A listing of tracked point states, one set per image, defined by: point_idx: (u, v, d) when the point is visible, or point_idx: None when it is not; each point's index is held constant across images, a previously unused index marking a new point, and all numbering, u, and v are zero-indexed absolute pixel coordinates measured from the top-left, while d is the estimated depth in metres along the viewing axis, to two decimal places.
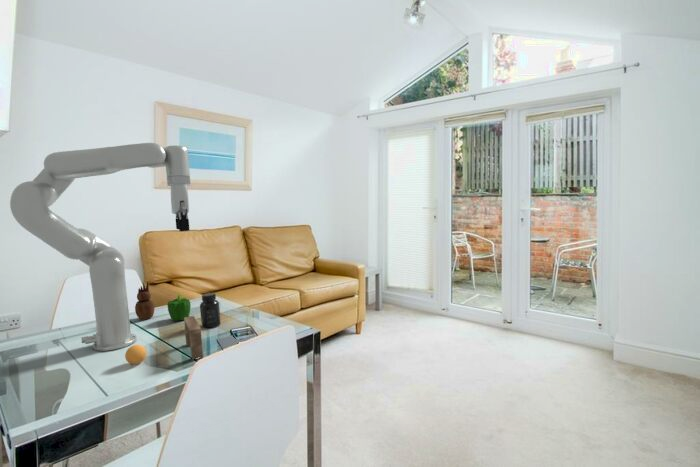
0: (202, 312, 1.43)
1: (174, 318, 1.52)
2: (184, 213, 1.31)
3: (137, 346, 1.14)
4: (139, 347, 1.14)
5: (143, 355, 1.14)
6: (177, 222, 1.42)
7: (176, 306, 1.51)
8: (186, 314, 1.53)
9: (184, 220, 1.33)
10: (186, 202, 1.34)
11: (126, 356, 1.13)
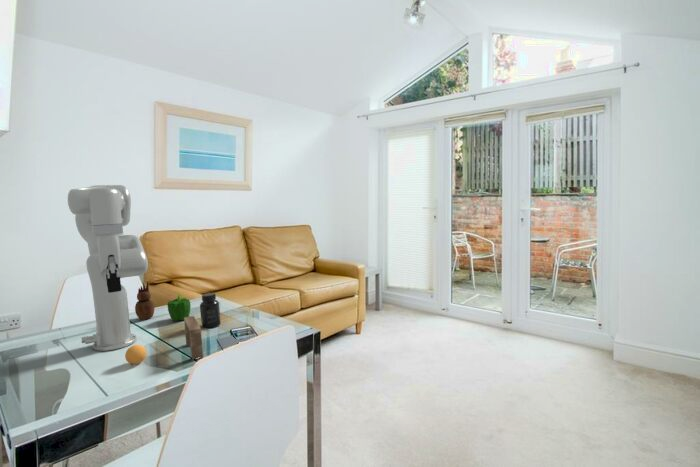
0: (202, 312, 1.43)
1: (174, 318, 1.52)
2: (113, 271, 1.07)
3: (137, 346, 1.14)
4: (139, 347, 1.14)
5: (143, 355, 1.14)
6: None
7: (176, 306, 1.51)
8: (186, 314, 1.53)
9: (114, 279, 1.09)
10: (116, 256, 1.10)
11: (126, 356, 1.13)
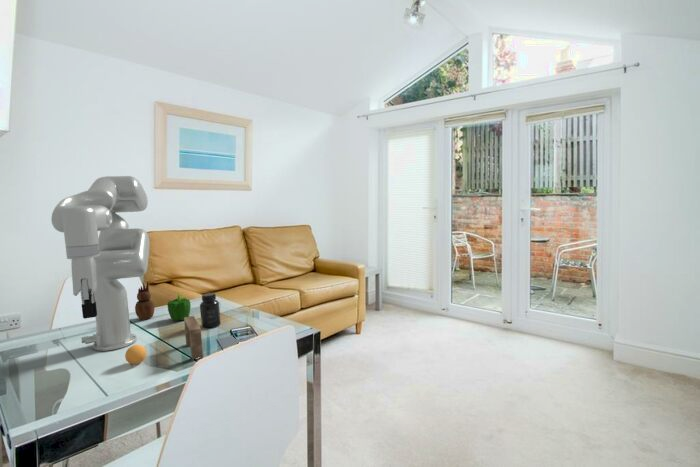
0: (202, 312, 1.43)
1: (174, 318, 1.52)
2: (87, 299, 1.05)
3: (137, 346, 1.14)
4: (139, 347, 1.14)
5: (143, 355, 1.14)
6: None
7: (176, 306, 1.51)
8: (186, 314, 1.53)
9: (89, 305, 1.07)
10: (90, 280, 1.03)
11: (126, 356, 1.13)
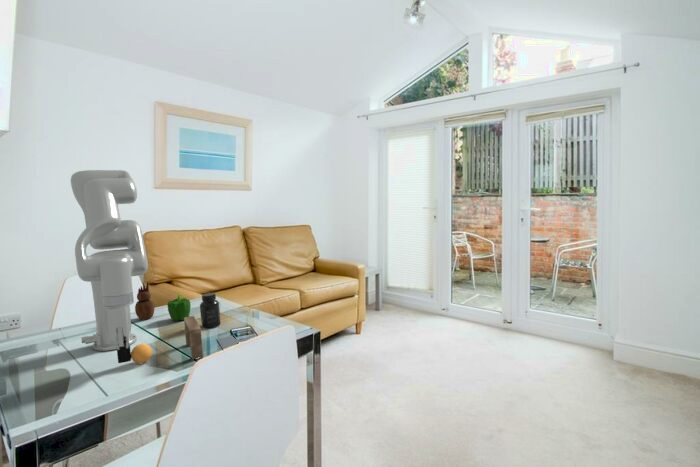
0: (202, 312, 1.43)
1: (174, 318, 1.52)
2: None
3: (146, 346, 1.15)
4: (147, 347, 1.15)
5: (148, 356, 1.15)
6: None
7: (176, 306, 1.51)
8: (186, 314, 1.53)
9: (123, 350, 1.12)
10: (125, 328, 1.08)
11: (132, 353, 1.13)
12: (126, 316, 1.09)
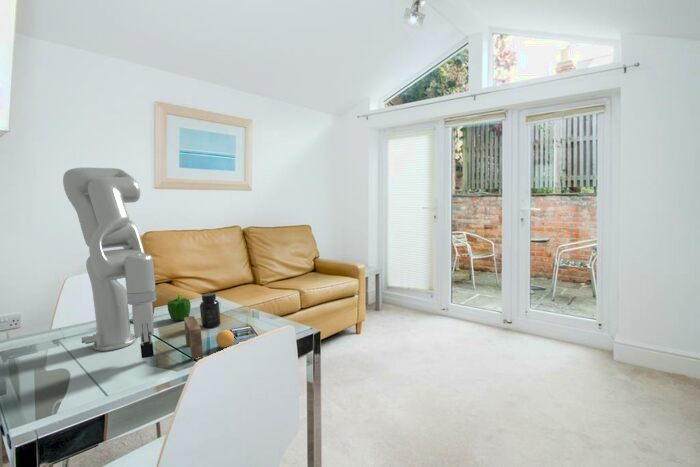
0: (202, 312, 1.43)
1: (174, 318, 1.52)
2: (146, 341, 1.13)
3: None
4: (225, 347, 1.24)
5: (219, 344, 1.23)
6: None
7: (176, 306, 1.51)
8: (186, 314, 1.53)
9: (147, 345, 1.15)
10: (150, 324, 1.12)
11: (232, 337, 1.24)
12: (151, 312, 1.12)
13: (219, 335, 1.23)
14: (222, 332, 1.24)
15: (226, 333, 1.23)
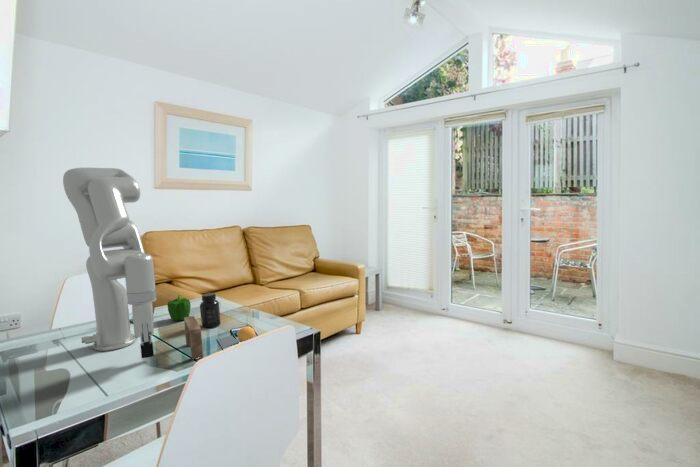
0: (202, 312, 1.43)
1: (174, 318, 1.52)
2: (146, 341, 1.13)
3: (240, 331, 1.26)
4: (241, 330, 1.26)
5: (250, 330, 1.26)
6: None
7: (176, 306, 1.51)
8: (186, 314, 1.53)
9: (147, 345, 1.15)
10: (150, 324, 1.12)
11: None
12: (151, 312, 1.12)
13: (254, 335, 1.28)
14: None
15: None
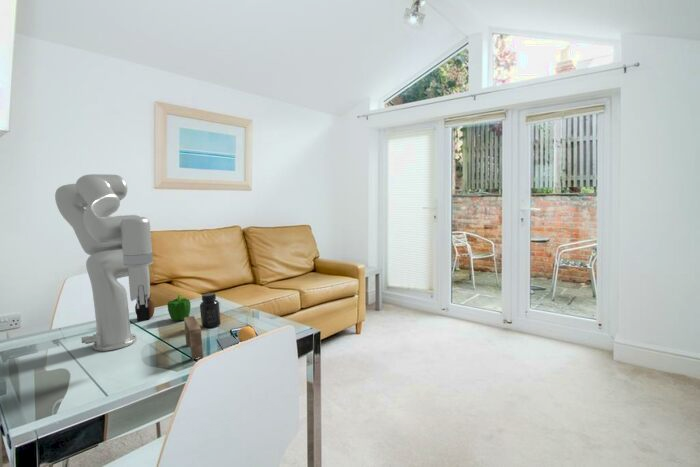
0: (202, 312, 1.43)
1: (174, 318, 1.52)
2: (142, 304, 1.12)
3: (240, 331, 1.26)
4: (241, 330, 1.26)
5: (250, 330, 1.26)
6: None
7: (176, 306, 1.51)
8: (186, 314, 1.53)
9: (143, 309, 1.14)
10: (146, 287, 1.10)
11: None
12: (147, 275, 1.11)
13: (254, 335, 1.28)
14: None
15: None
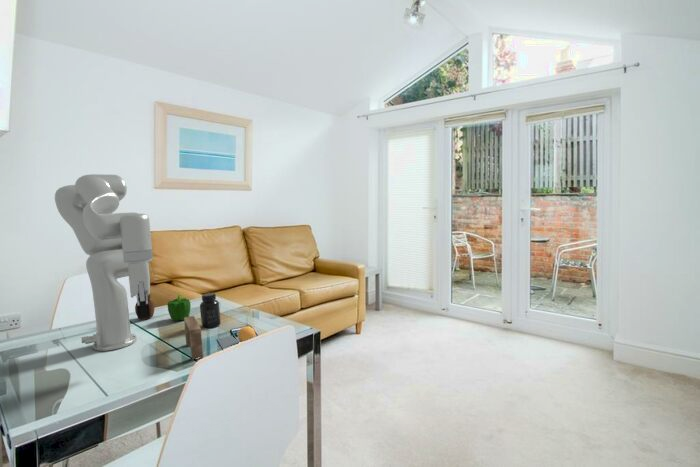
0: (202, 312, 1.43)
1: (174, 318, 1.52)
2: (143, 301, 1.12)
3: (240, 331, 1.26)
4: (241, 330, 1.26)
5: (250, 330, 1.26)
6: None
7: (176, 306, 1.51)
8: (186, 314, 1.53)
9: (143, 306, 1.13)
10: (146, 283, 1.10)
11: None
12: (147, 271, 1.11)
13: (254, 335, 1.28)
14: None
15: None
